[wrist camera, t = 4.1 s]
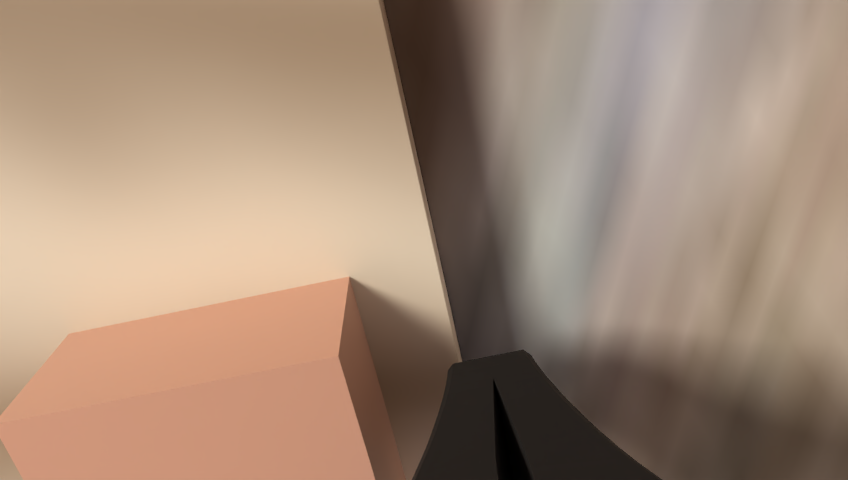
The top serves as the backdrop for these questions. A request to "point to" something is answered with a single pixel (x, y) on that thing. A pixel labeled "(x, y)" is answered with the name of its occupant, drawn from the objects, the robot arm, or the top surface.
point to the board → (214, 179)
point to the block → (211, 396)
